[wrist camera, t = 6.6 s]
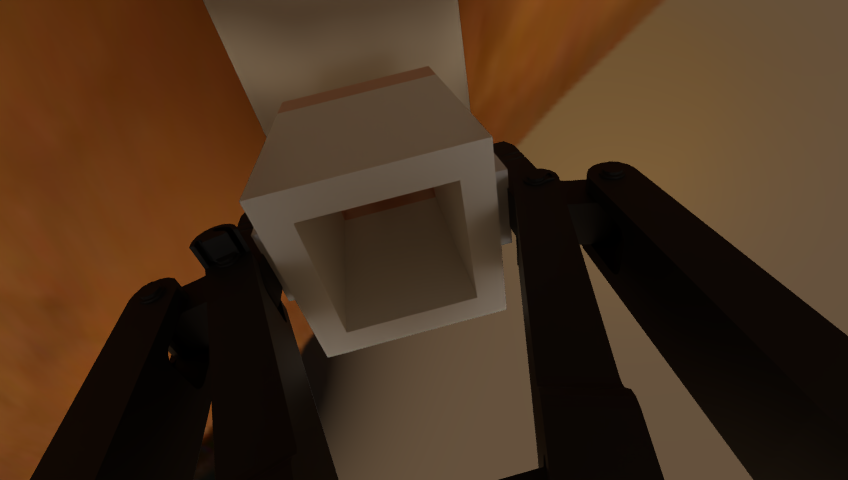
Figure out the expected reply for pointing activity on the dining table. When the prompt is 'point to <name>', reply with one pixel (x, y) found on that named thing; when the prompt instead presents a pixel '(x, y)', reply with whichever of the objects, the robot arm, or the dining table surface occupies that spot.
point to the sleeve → (380, 210)
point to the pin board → (335, 45)
